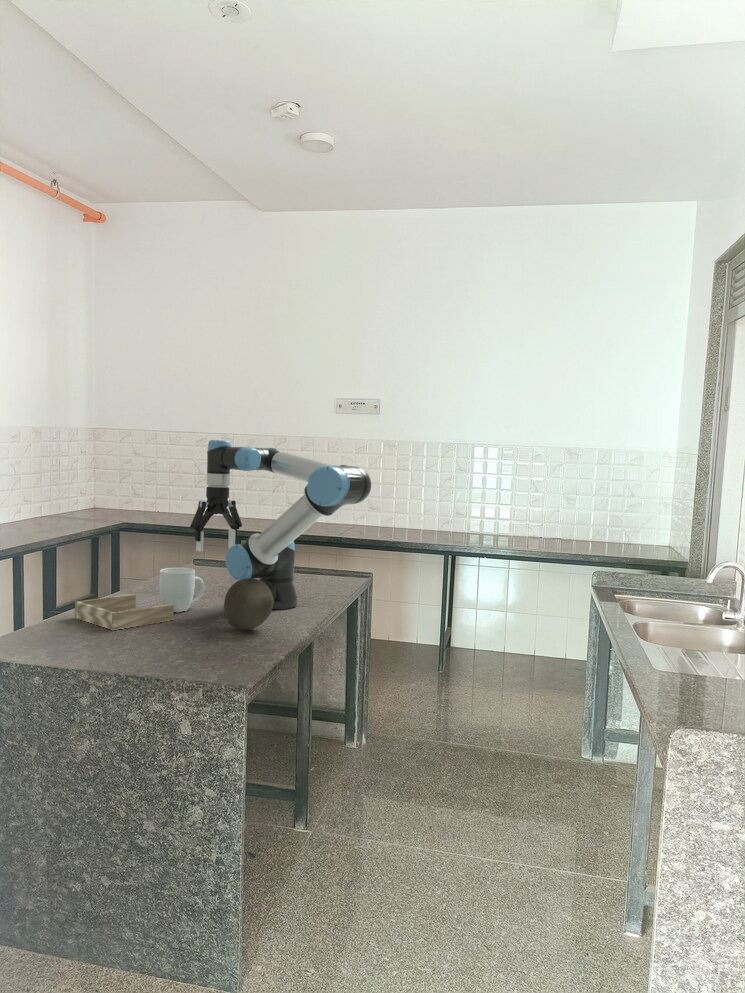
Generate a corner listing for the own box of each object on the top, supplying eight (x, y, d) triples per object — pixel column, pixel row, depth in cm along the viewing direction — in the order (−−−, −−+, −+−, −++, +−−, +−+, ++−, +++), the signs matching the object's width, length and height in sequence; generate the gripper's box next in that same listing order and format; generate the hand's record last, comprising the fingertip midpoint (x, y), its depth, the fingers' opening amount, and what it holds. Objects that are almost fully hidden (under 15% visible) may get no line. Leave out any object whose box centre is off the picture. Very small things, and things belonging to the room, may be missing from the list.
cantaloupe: (225, 636, 205) (226, 583, 204) (221, 624, 219) (223, 575, 218) (275, 635, 209) (277, 583, 208) (268, 623, 223) (270, 574, 222)
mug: (195, 604, 246) (196, 565, 245) (211, 610, 237) (212, 570, 236) (153, 609, 236) (154, 568, 235) (167, 615, 228) (168, 574, 227)
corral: (173, 620, 222) (173, 604, 221) (113, 631, 206) (113, 613, 206) (133, 608, 235) (134, 593, 235) (74, 618, 219) (75, 601, 219)
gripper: (239, 485, 257) (237, 545, 258) (180, 485, 237) (178, 551, 239) (253, 486, 252) (251, 548, 253) (194, 487, 233) (192, 553, 234)
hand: (215, 549), depth 246 cm, fingers open, 13 cm apart
